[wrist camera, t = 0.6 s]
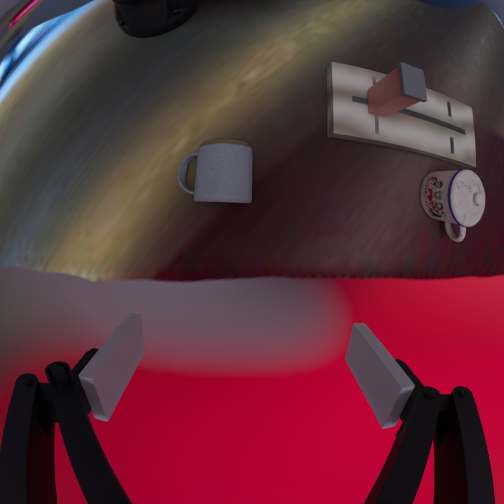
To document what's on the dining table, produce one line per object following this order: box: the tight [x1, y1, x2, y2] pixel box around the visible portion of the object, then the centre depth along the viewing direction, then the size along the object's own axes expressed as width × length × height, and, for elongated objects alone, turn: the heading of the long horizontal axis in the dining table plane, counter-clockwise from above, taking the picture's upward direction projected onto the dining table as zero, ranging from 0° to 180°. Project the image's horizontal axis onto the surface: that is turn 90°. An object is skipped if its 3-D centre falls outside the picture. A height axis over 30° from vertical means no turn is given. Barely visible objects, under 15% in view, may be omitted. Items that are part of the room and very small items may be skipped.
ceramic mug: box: [178, 139, 253, 203], centre depth 35 cm, size 11×8×8 cm
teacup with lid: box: [420, 169, 485, 242], centre depth 35 cm, size 12×9×12 cm
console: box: [326, 62, 476, 167], centre depth 36 cm, size 12×30×3 cm, turn 88°
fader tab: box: [368, 62, 427, 117], centre depth 28 cm, size 4×3×11 cm
